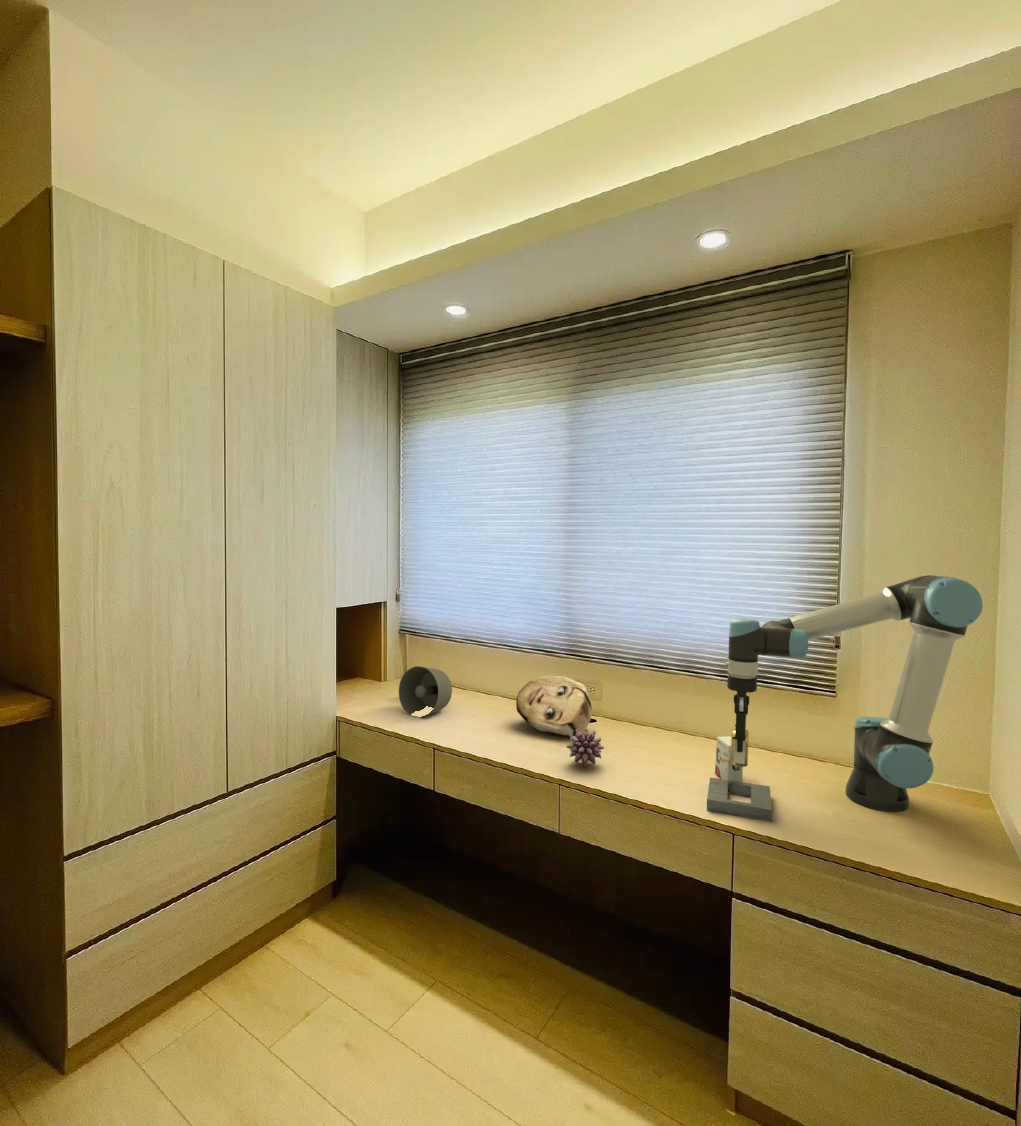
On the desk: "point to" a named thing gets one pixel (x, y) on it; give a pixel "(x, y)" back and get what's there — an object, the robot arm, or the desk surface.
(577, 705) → the head sculpture
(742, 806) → the frame
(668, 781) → the desk surface
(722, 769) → the ink box
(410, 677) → the light fixture
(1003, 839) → the desk surface
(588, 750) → the purple spiky ball
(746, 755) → the cylinder
